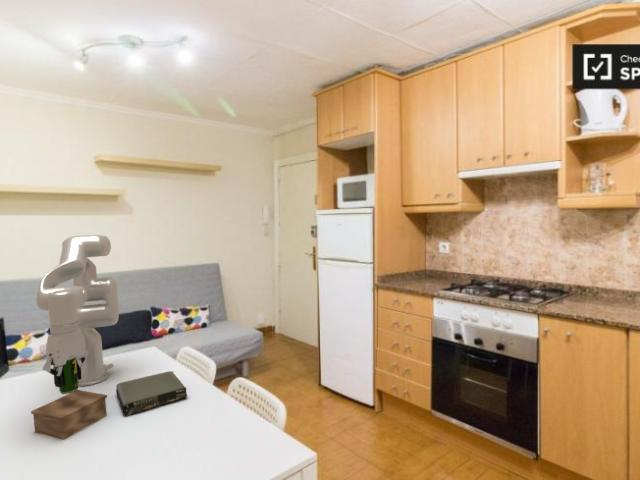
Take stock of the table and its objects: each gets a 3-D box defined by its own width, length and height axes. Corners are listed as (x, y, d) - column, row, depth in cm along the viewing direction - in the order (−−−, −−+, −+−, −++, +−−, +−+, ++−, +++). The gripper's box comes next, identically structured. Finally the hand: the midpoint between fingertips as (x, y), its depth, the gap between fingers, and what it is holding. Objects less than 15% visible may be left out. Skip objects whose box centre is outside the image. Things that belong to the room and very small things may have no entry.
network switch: (126, 421, 132) (125, 406, 132) (108, 398, 150) (107, 385, 149) (193, 397, 147) (193, 384, 147) (170, 379, 165) (169, 367, 164)
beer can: (59, 396, 126) (56, 359, 126) (59, 390, 131) (56, 354, 130) (79, 391, 129) (76, 355, 129) (78, 385, 134) (75, 351, 133)
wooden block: (79, 408, 141) (77, 389, 140) (108, 414, 136) (106, 394, 135) (32, 432, 126) (30, 411, 126) (63, 440, 121) (61, 418, 121)
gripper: (80, 320, 138) (84, 371, 139) (29, 335, 122) (34, 392, 123) (95, 322, 135) (99, 374, 137) (45, 337, 120) (50, 395, 121)
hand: (68, 382), depth 130 cm, fingers closed on beer can, 5 cm apart
